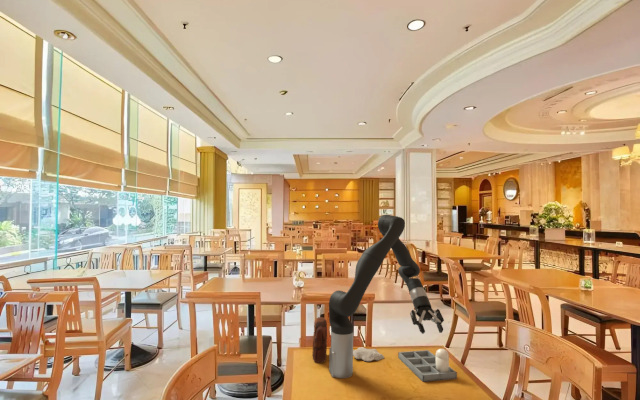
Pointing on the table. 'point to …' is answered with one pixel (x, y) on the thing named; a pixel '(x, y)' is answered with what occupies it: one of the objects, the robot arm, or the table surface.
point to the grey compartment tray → (425, 366)
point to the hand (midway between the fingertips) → (432, 332)
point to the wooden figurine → (320, 340)
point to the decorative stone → (367, 354)
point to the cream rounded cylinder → (442, 361)
